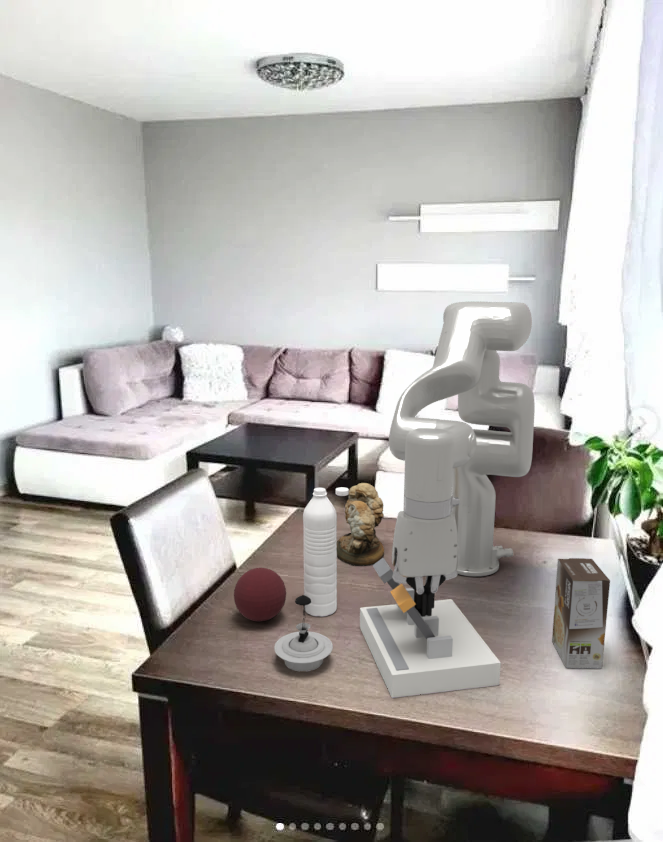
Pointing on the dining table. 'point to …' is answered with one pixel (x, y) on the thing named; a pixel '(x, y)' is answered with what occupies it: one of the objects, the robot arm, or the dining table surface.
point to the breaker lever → (411, 609)
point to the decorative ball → (260, 594)
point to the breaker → (385, 573)
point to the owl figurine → (362, 527)
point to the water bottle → (320, 553)
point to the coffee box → (580, 612)
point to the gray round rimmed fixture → (303, 645)
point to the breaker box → (428, 650)
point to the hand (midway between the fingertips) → (423, 612)
